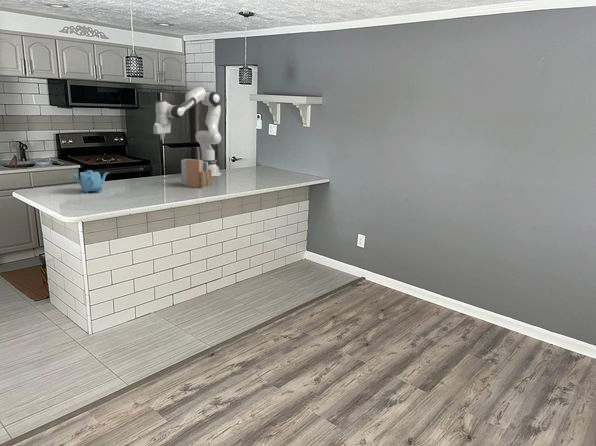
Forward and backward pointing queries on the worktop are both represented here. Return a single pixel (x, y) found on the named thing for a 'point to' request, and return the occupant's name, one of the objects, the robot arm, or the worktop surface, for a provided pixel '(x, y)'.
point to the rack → (205, 178)
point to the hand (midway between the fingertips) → (162, 139)
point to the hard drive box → (184, 170)
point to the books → (194, 172)
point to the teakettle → (90, 181)
